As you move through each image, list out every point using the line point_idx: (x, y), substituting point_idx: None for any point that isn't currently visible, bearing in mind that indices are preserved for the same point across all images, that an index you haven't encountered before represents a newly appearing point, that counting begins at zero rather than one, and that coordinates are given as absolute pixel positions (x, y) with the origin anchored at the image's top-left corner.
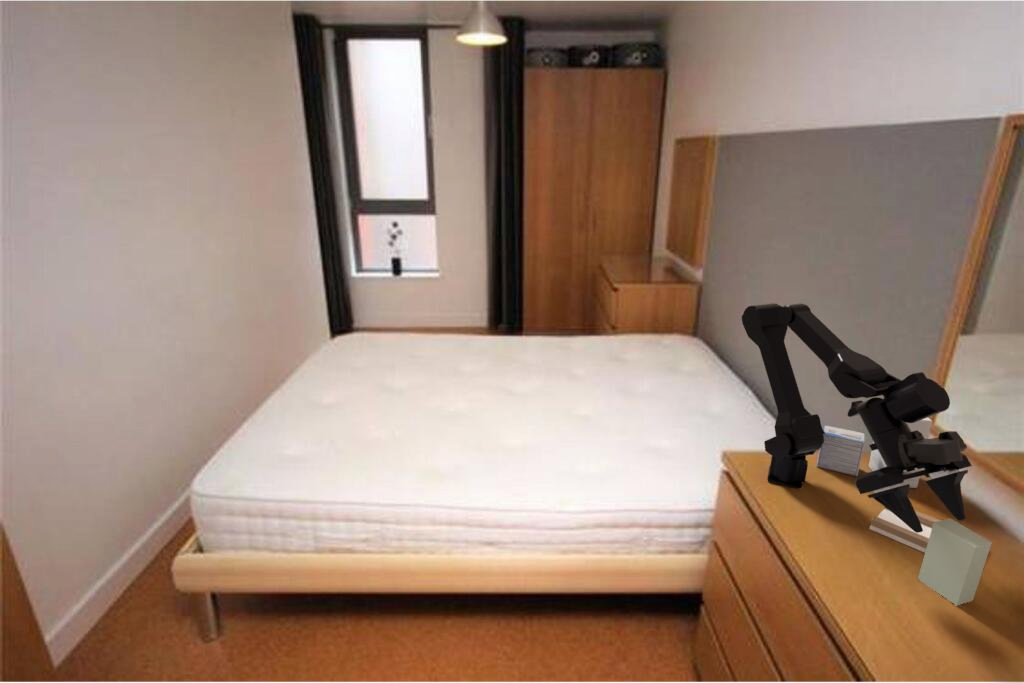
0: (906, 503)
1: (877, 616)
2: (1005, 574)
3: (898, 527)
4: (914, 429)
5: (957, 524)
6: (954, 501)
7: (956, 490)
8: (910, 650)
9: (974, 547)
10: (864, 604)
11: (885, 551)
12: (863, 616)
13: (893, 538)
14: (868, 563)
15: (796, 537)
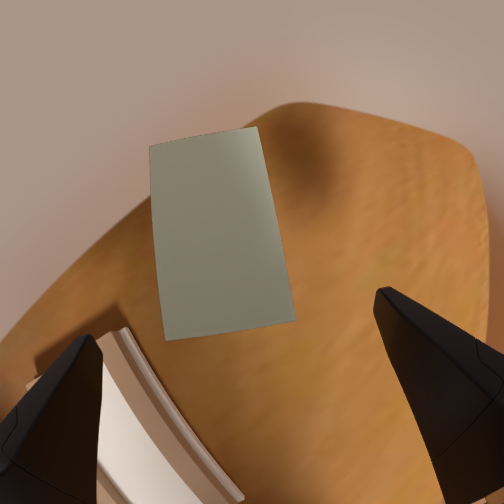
0: (502, 365)
1: (435, 233)
2: (61, 294)
3: (188, 476)
4: None
5: (176, 283)
6: (62, 409)
7: (15, 438)
8: (421, 162)
9: (257, 129)
10: (441, 265)
11: (272, 423)
12: (456, 238)
13: (212, 458)
14: (352, 387)
15: None
